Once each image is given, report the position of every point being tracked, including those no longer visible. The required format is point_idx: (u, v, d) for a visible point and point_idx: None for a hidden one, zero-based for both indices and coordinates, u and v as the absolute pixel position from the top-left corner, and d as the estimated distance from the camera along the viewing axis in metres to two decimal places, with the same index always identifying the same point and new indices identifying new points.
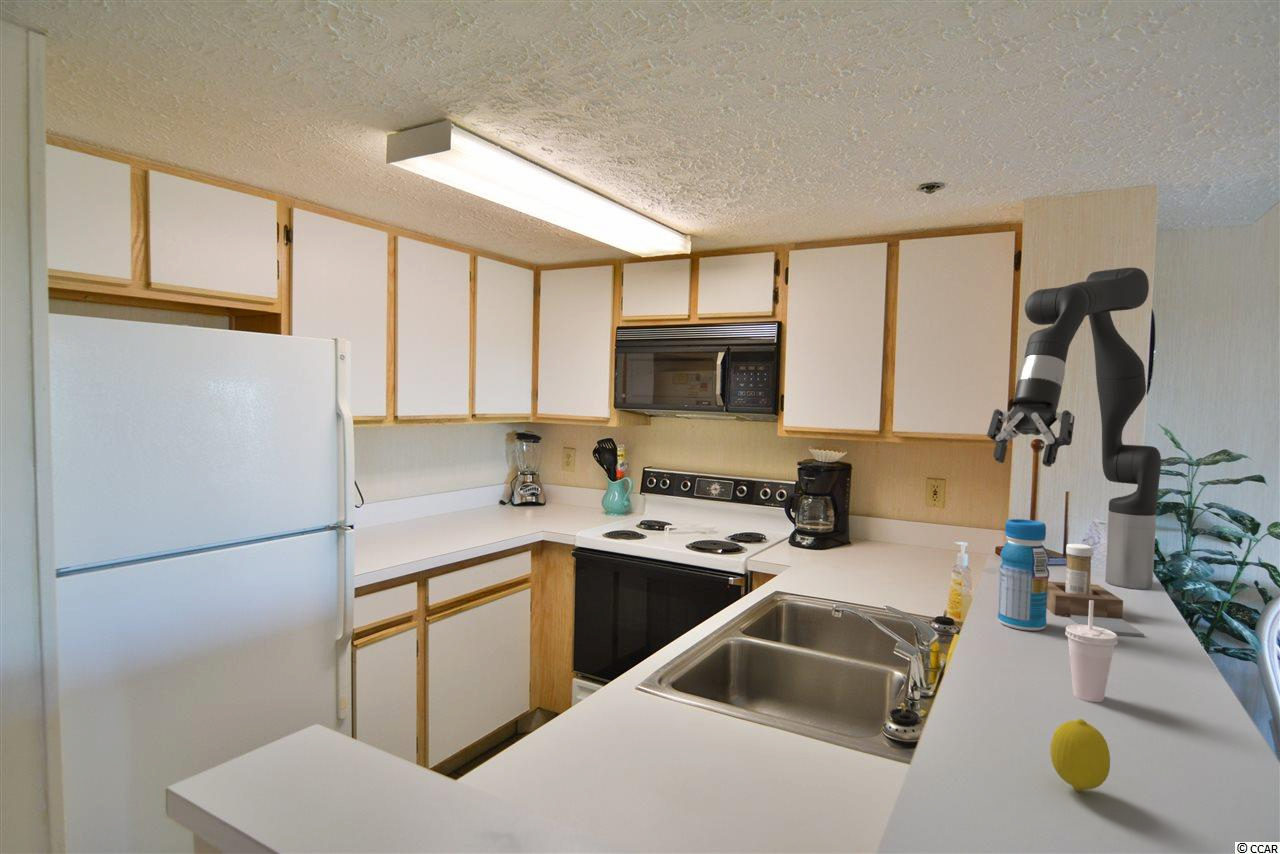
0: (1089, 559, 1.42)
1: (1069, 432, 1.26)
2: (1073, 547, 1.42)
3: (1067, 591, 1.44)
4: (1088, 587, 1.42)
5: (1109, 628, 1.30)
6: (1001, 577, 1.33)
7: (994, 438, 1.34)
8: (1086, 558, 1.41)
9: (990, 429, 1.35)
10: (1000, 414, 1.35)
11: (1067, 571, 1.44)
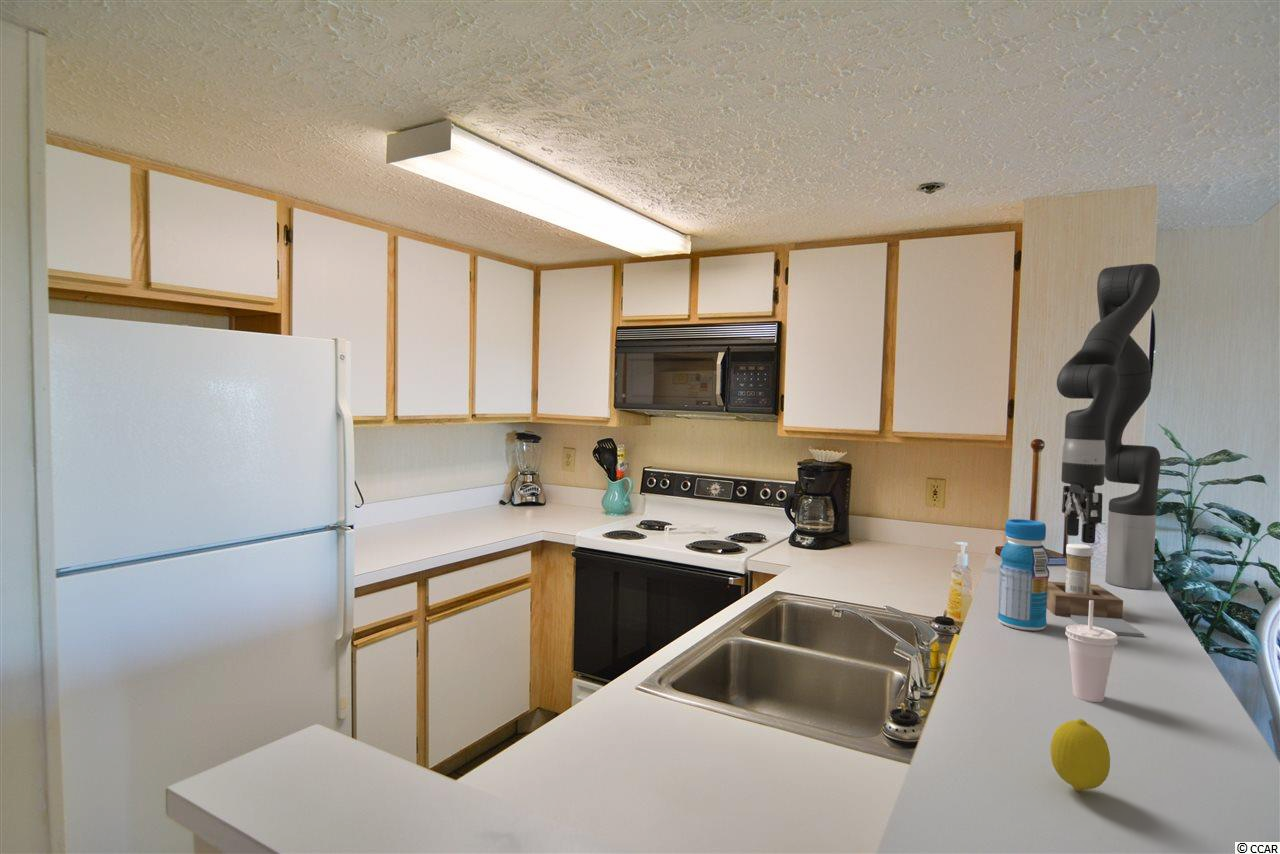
0: (1089, 559, 1.42)
1: (1098, 511, 1.36)
2: (1073, 547, 1.42)
3: (1067, 591, 1.44)
4: (1088, 587, 1.42)
5: (1109, 628, 1.30)
6: (1001, 577, 1.33)
7: None
8: (1086, 558, 1.41)
9: (1062, 505, 1.50)
10: (1067, 490, 1.49)
11: (1067, 571, 1.44)
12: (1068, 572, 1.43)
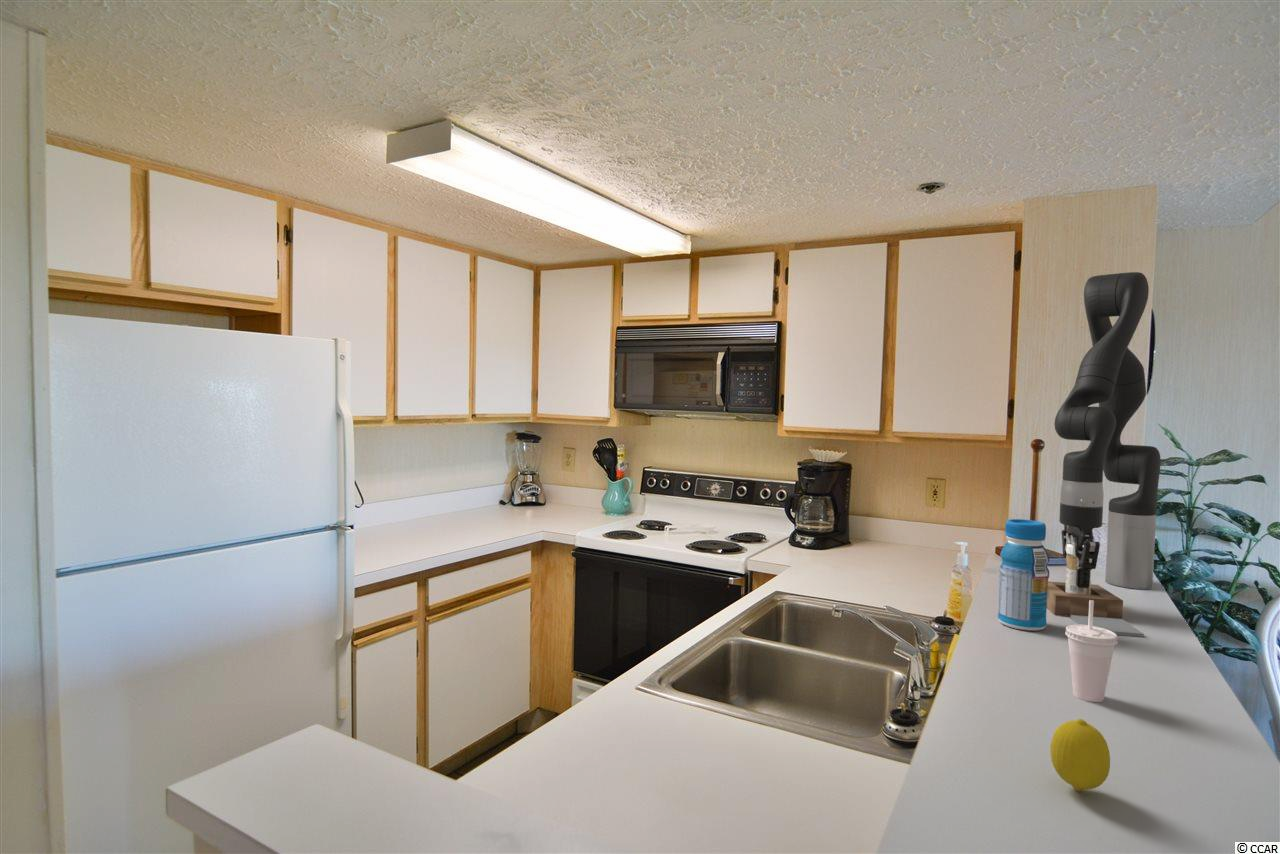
0: None
1: (1093, 559, 1.38)
2: None
3: (1067, 591, 1.44)
4: None
5: (1109, 628, 1.30)
6: (1001, 577, 1.33)
7: None
8: None
9: (1063, 550, 1.49)
10: (1066, 534, 1.49)
11: (1067, 571, 1.44)
12: (1068, 572, 1.43)
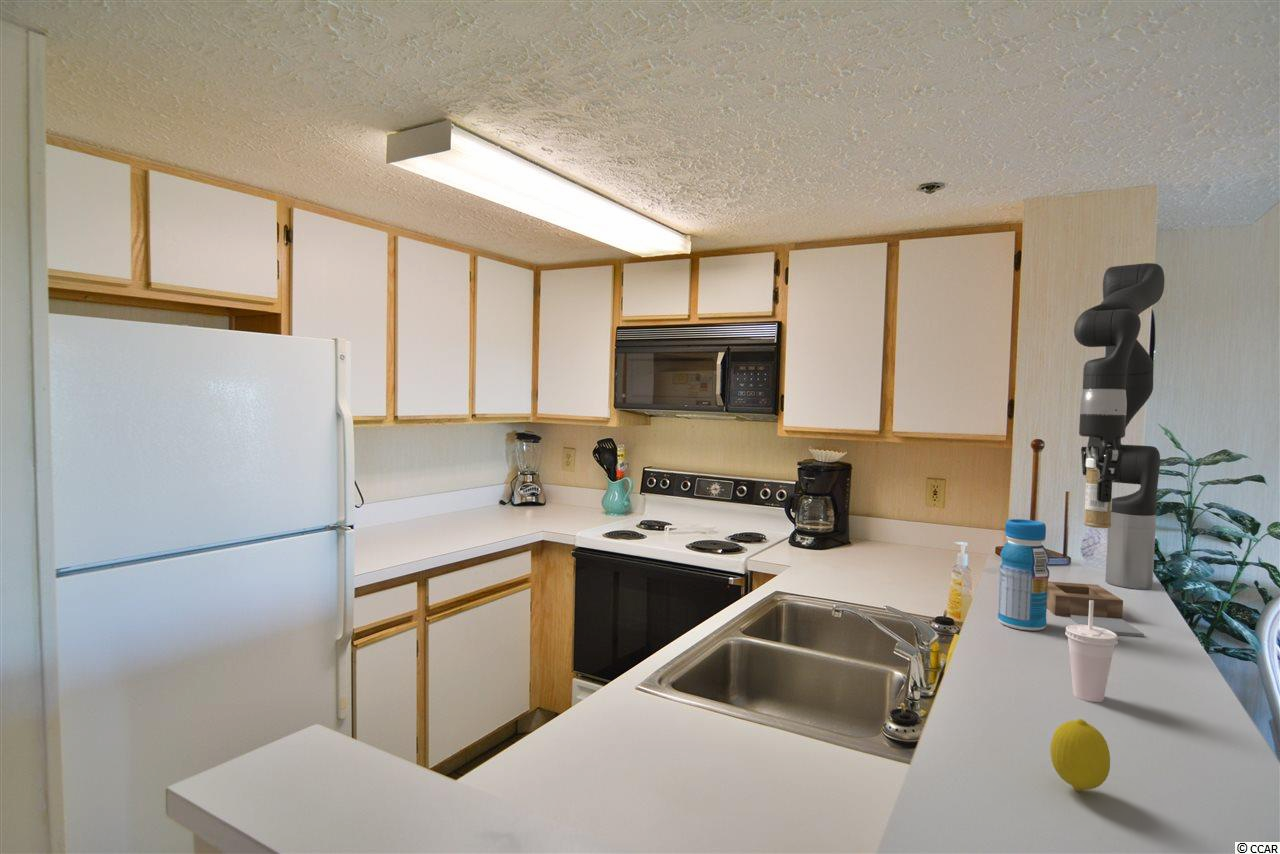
0: None
1: (1116, 468, 1.29)
2: (1093, 459, 1.34)
3: (1087, 507, 1.35)
4: (1109, 502, 1.33)
5: (1109, 628, 1.30)
6: (1001, 577, 1.33)
7: None
8: None
9: (1083, 467, 1.40)
10: (1085, 450, 1.40)
11: (1087, 486, 1.35)
12: (1088, 487, 1.35)
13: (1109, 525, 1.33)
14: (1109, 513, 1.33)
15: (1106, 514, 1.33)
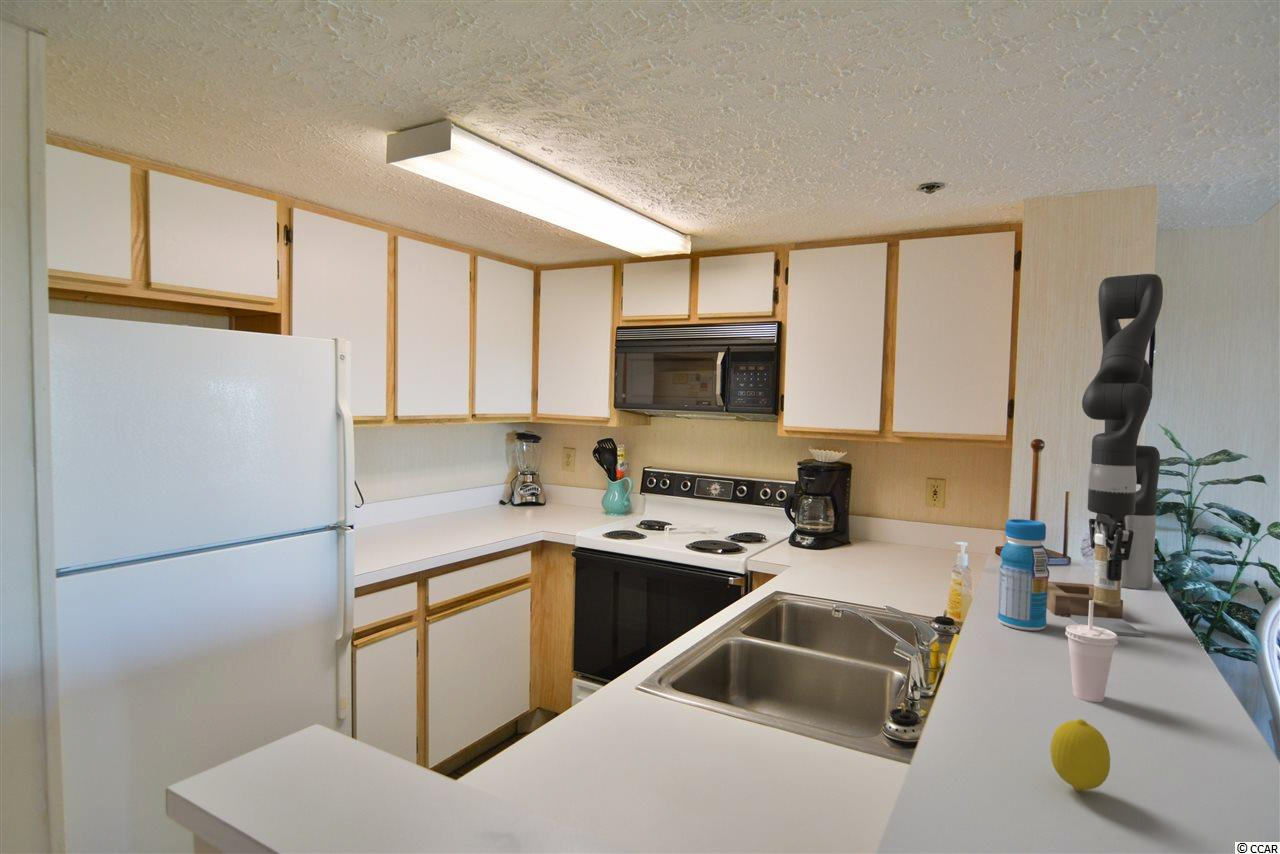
0: None
1: (1126, 549, 1.26)
2: None
3: (1096, 584, 1.32)
4: None
5: (1109, 628, 1.30)
6: (1001, 577, 1.33)
7: None
8: None
9: (1091, 540, 1.37)
10: (1093, 523, 1.37)
11: (1096, 563, 1.32)
12: (1097, 564, 1.32)
13: (1119, 603, 1.30)
14: (1119, 591, 1.30)
15: (1116, 592, 1.30)
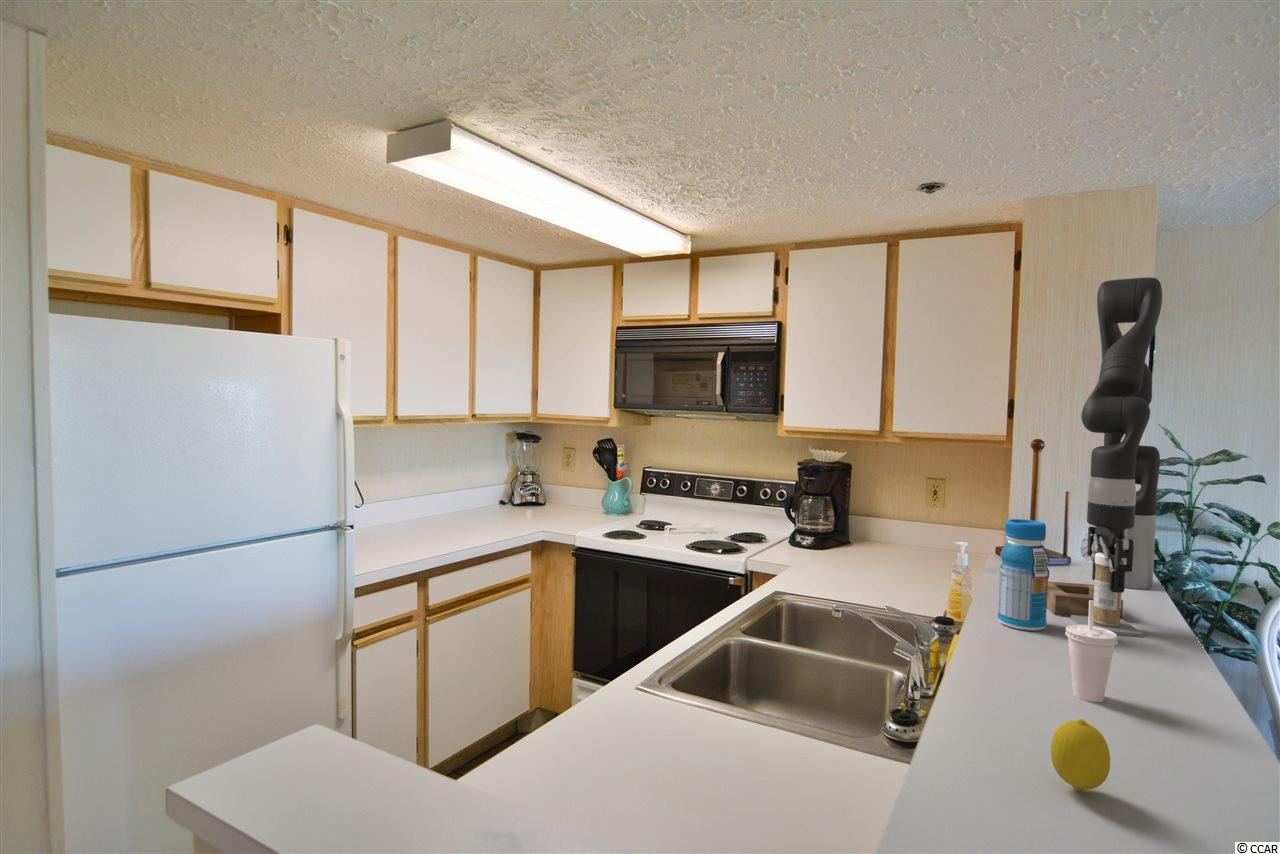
0: None
1: (1128, 559, 1.25)
2: (1103, 557, 1.31)
3: (1095, 604, 1.32)
4: (1119, 600, 1.30)
5: (1109, 628, 1.30)
6: (1001, 577, 1.33)
7: None
8: None
9: (1088, 547, 1.38)
10: (1093, 531, 1.37)
11: (1096, 583, 1.32)
12: (1097, 584, 1.32)
13: (1118, 624, 1.31)
14: (1118, 612, 1.30)
15: (1115, 613, 1.30)
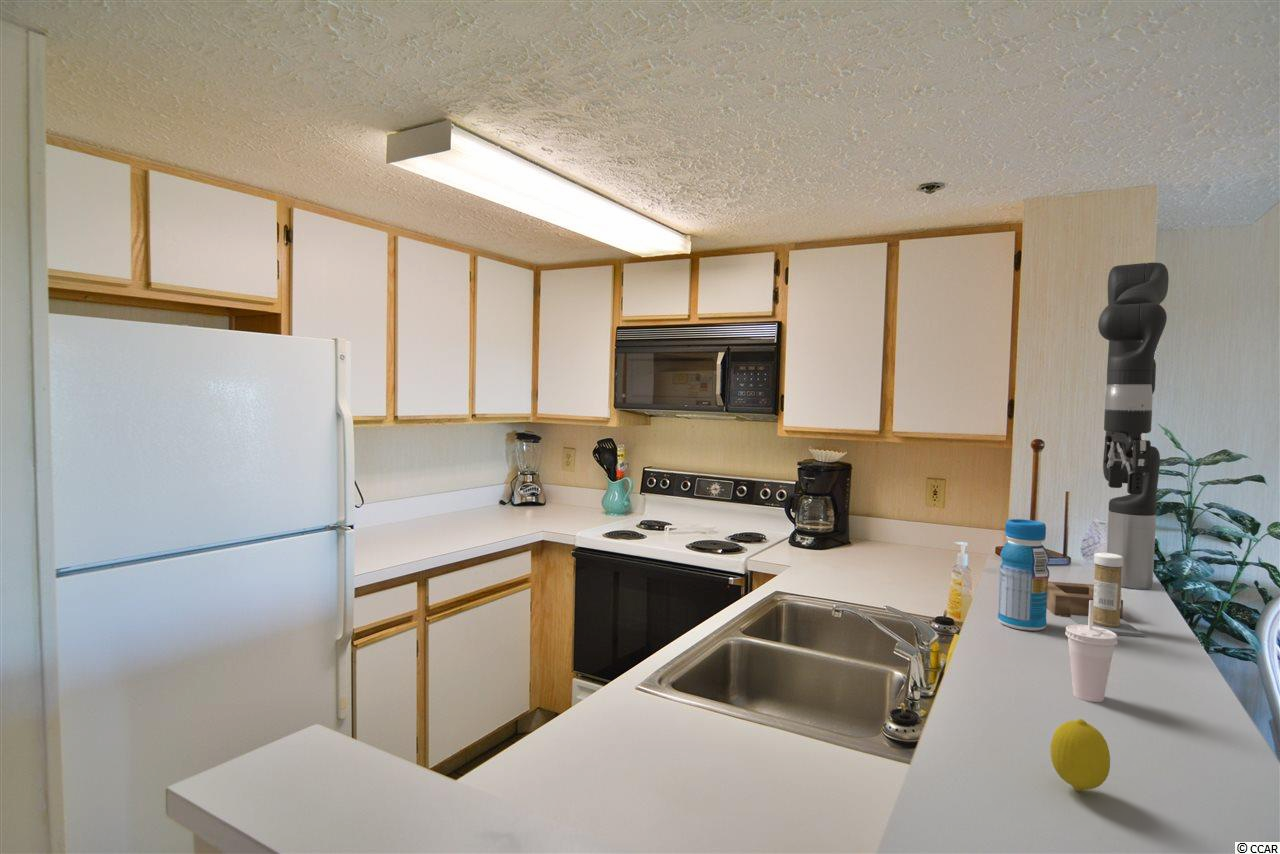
0: (1120, 570, 1.30)
1: (1146, 460, 1.28)
2: (1102, 557, 1.31)
3: (1095, 604, 1.32)
4: (1118, 600, 1.30)
5: (1109, 628, 1.30)
6: (1001, 577, 1.33)
7: None
8: (1117, 569, 1.30)
9: (1104, 456, 1.41)
10: (1109, 440, 1.40)
11: (1095, 583, 1.32)
12: (1096, 584, 1.32)
13: (1118, 624, 1.31)
14: (1118, 611, 1.31)
15: (1115, 613, 1.30)
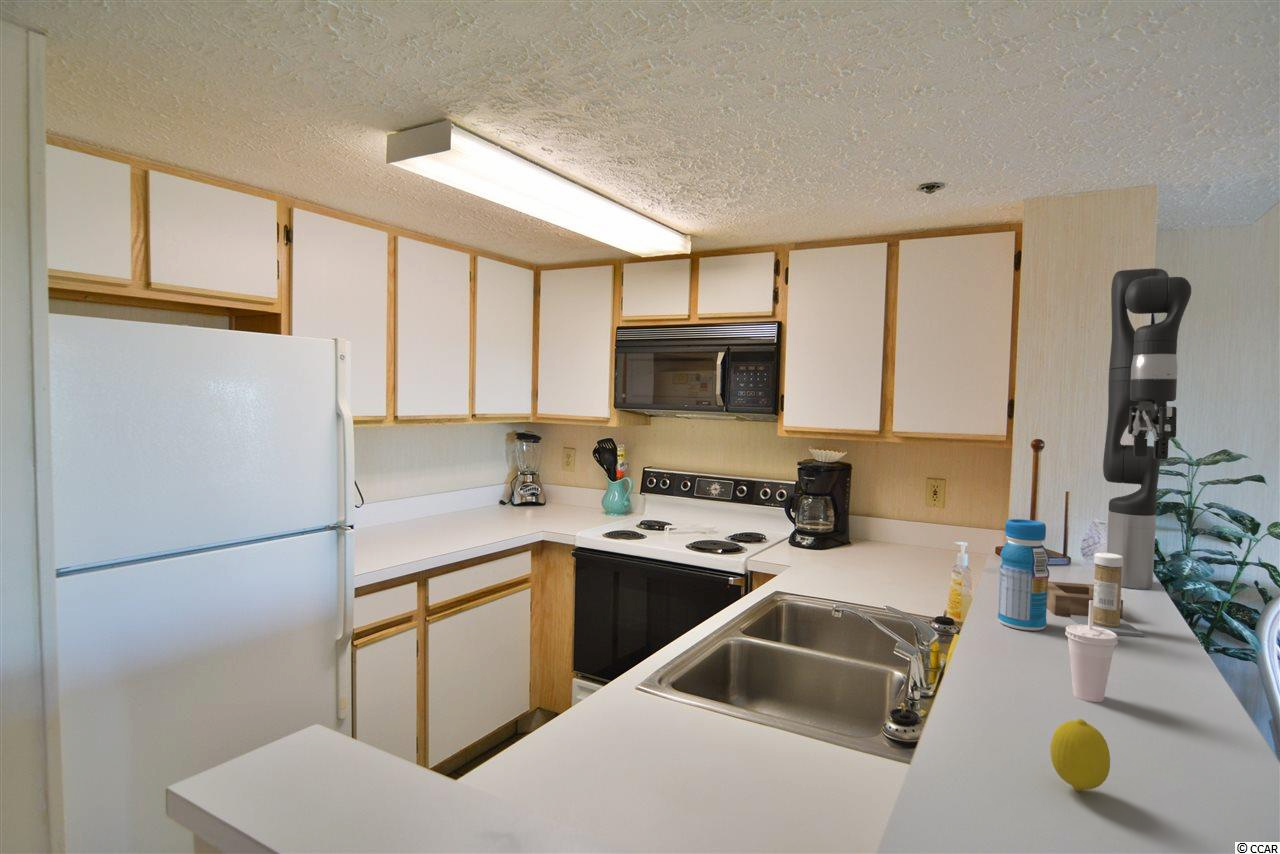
0: (1120, 570, 1.30)
1: (1172, 425, 1.33)
2: (1102, 557, 1.31)
3: (1095, 604, 1.32)
4: (1118, 600, 1.30)
5: (1109, 628, 1.30)
6: (1001, 577, 1.33)
7: None
8: (1117, 569, 1.30)
9: (1129, 426, 1.46)
10: (1134, 410, 1.45)
11: (1095, 583, 1.32)
12: (1096, 584, 1.32)
13: (1118, 624, 1.31)
14: (1118, 611, 1.31)
15: (1115, 613, 1.30)
